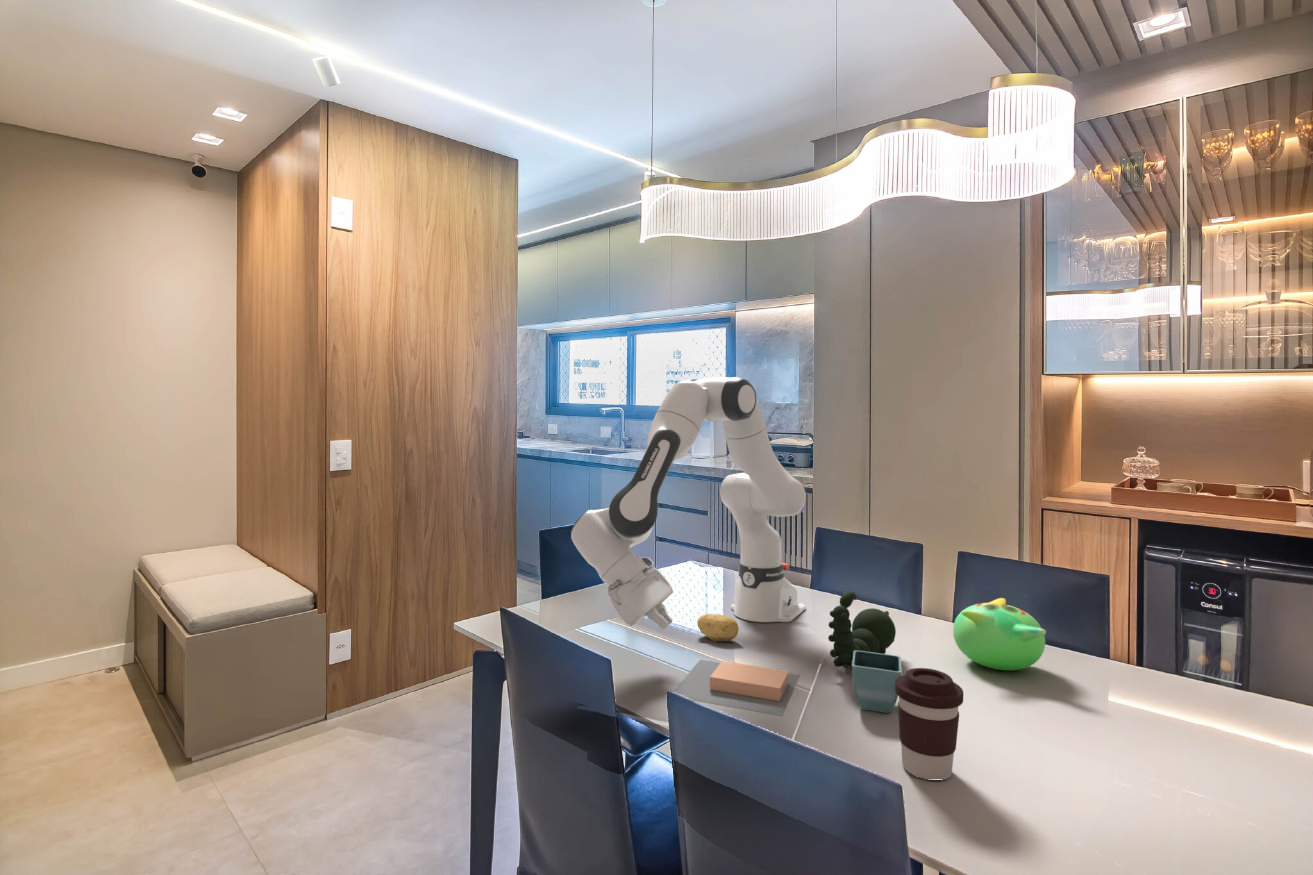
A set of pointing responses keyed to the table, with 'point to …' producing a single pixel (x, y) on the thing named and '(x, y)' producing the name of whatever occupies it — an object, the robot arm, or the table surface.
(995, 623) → the squishy toy
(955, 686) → the coffee cup
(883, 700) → the flower pot
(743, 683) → the block
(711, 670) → the mat
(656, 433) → the robot arm
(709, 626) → the potato
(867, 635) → the toy figurine
